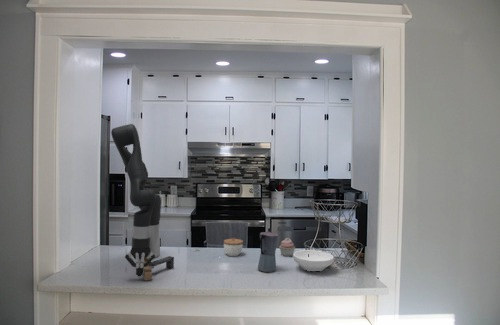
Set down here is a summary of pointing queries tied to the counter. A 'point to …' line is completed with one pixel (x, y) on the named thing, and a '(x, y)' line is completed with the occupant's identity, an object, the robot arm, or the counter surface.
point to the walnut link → (147, 271)
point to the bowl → (313, 259)
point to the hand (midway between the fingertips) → (139, 276)
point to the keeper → (167, 260)
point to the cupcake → (287, 247)
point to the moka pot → (268, 251)
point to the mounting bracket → (197, 249)
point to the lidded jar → (233, 246)
